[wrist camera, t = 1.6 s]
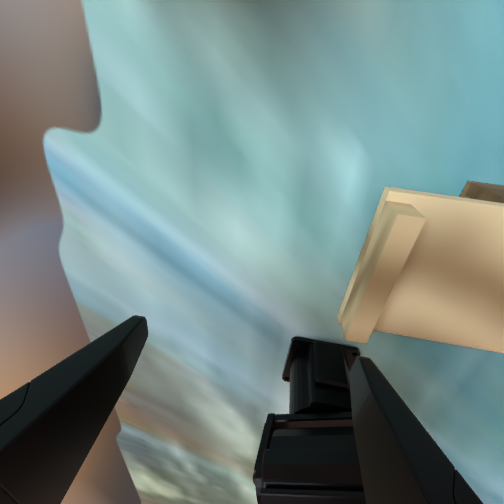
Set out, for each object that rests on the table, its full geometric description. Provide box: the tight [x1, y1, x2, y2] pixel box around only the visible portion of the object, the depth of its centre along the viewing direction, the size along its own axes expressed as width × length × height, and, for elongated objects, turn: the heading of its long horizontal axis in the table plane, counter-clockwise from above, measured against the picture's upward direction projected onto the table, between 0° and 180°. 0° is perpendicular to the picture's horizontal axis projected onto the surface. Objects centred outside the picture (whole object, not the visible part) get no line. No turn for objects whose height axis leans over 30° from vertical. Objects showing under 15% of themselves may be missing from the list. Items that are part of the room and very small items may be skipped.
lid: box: [337, 187, 504, 353], centre depth 14 cm, size 9×11×2 cm
